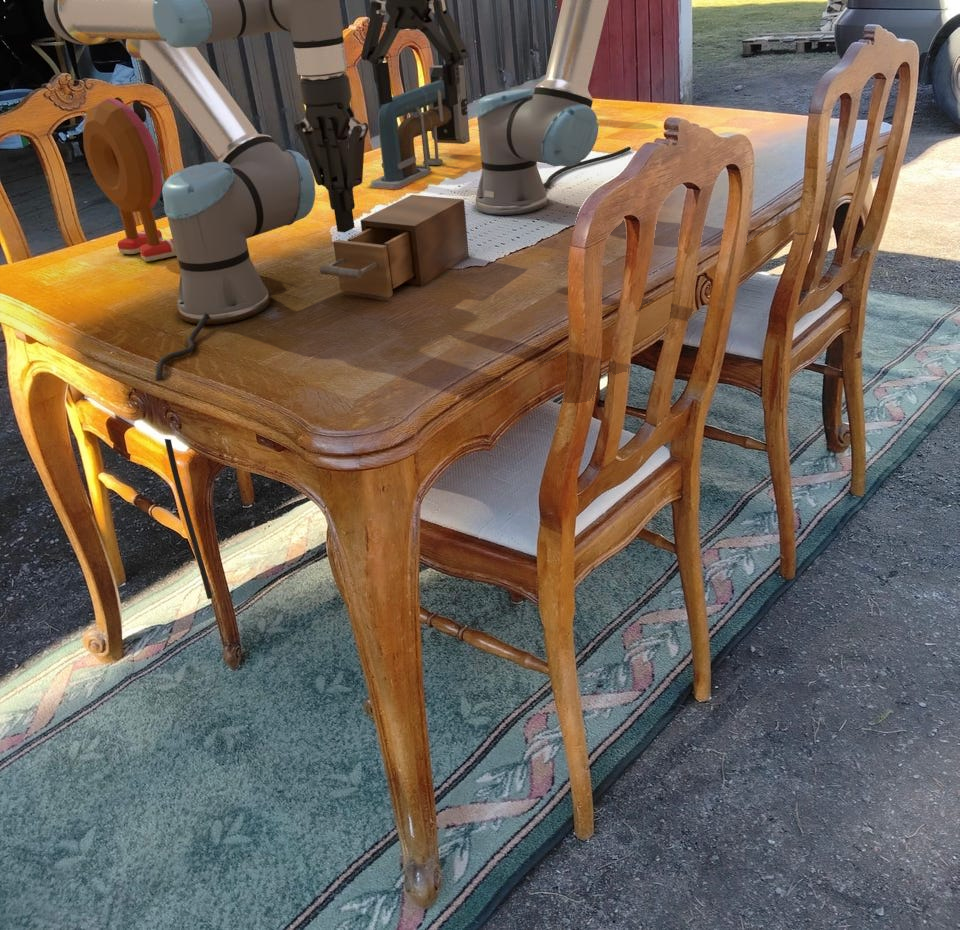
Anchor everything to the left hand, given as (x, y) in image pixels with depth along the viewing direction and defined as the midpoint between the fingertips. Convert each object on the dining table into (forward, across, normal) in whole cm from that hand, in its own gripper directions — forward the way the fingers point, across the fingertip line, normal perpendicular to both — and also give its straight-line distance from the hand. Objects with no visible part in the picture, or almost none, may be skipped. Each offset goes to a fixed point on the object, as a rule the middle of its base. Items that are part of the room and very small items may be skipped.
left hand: (346, 229), depth 157 cm
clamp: (+13, +40, -81) cm, 91 cm away
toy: (+13, +59, -9) cm, 61 cm away
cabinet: (+13, 0, -19) cm, 23 cm away
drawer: (+12, 0, -7) cm, 14 cm away
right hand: (-15, 0, -24) cm, 28 cm away
